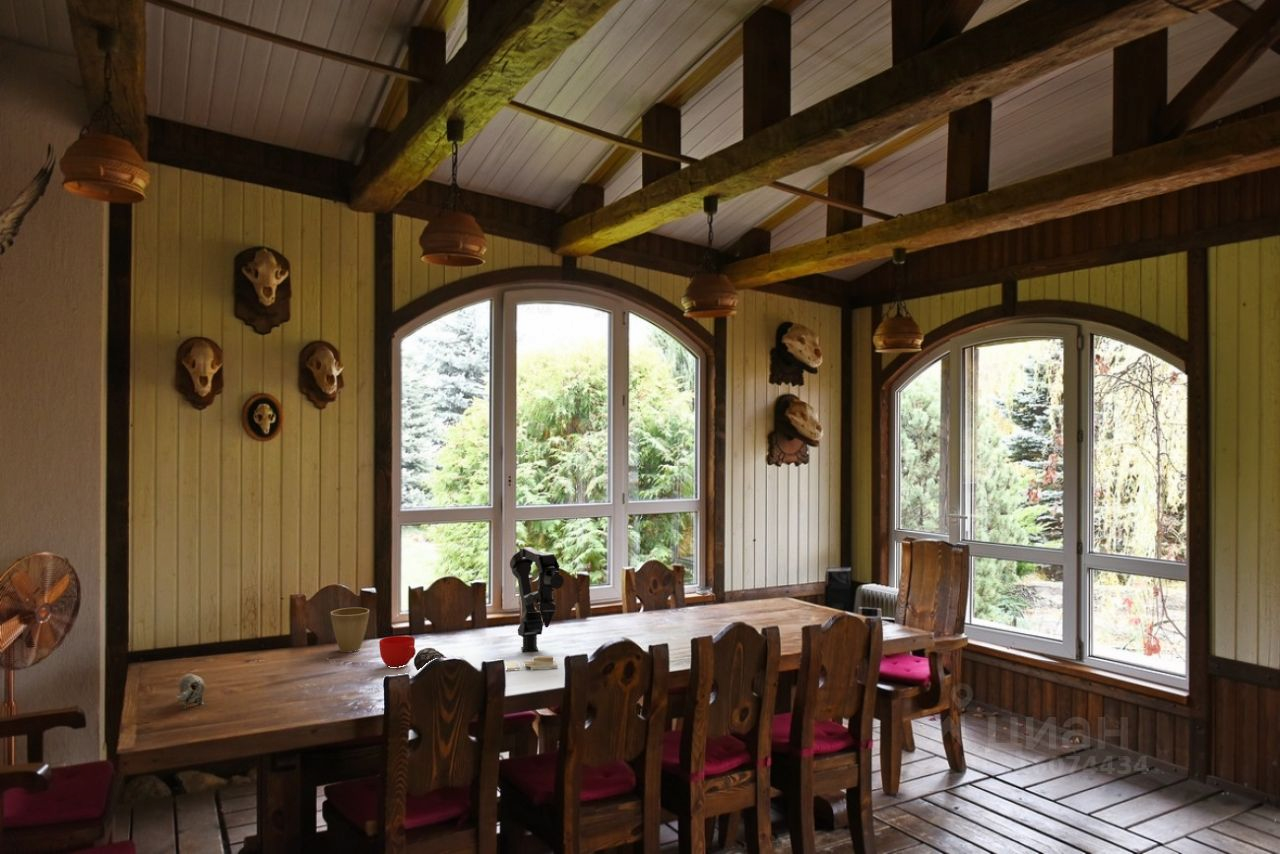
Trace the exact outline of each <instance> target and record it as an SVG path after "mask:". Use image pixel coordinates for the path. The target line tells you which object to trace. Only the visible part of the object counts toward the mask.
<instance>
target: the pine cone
mask: <svg viewBox="0 0 1280 854" xmlns="http://www.w3.org/2000/svg"><path fill="white" fill-rule="evenodd" d="M441 657H442V658H447V656H445V655H444V654H443V653H441V652H440V651H438V650H437V649H436V648H434V647H426V648H423V649H420V650H419V651H418V652H417V653H416V654H415V655H414V657H413V658H414V659H413V666H414V667H415V669H416V671H418V670H419V669H420V668H422V667H423V666H424V665H425V664H426V663H428V662H429V661H431V660H433V659H435V658H441Z"/></svg>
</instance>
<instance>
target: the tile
mask: <svg viewBox="0 0 1280 854" xmlns="http://www.w3.org/2000/svg"><path fill="white" fill-rule="evenodd" d="M505 663H506V666H507V670H515V669H521V668H522V667H521V666H520V665H519V663H518V662H517V661H509V662H505ZM515 671H516V670H515Z"/></svg>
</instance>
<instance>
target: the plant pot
mask: <svg viewBox="0 0 1280 854" xmlns="http://www.w3.org/2000/svg"><path fill="white" fill-rule="evenodd" d="M369 615H370V609H368V608H365V607H345V608H339V609H336V610H335V609H334V610H332V611H330V618H331V624H332V628H333V629H332V630H333V633H334V637H335V640H336V643H337V647H338V649H339V651H340V652H341V651H342V652H341V653H345V652H349V653H351V652H350V651H355V650H358V649H359V650H361V646H362V645H363V641H364V639H365V634H366V631H367V627H368V622H369V617H370V616H369ZM359 650H358V651H359Z"/></svg>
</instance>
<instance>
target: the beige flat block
mask: <svg viewBox="0 0 1280 854" xmlns="http://www.w3.org/2000/svg"><path fill="white" fill-rule="evenodd" d="M523 661H524V662H523V663H524V666H525V667H530V666H536V665H543V664H553V661H554V656H553V655H542V656H533V659H532V660H531V659H530V660H529V659H528V660H523Z"/></svg>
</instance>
